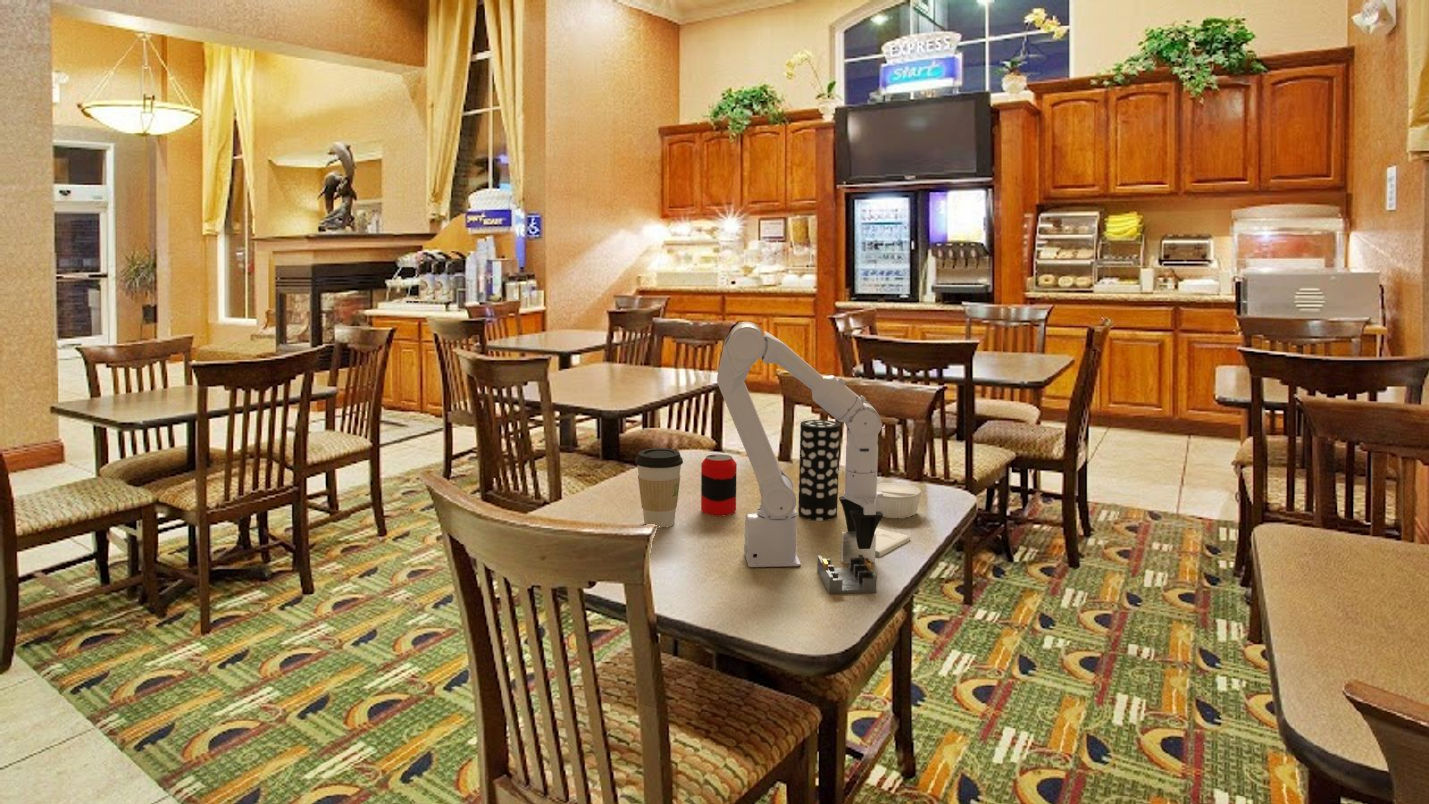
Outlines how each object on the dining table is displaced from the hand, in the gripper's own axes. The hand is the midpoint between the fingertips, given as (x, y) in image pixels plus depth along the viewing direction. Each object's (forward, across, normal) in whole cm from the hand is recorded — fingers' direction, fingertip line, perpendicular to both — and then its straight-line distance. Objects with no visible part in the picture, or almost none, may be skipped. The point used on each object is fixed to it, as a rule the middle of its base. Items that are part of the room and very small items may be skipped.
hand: (859, 541), depth 167 cm
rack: (+4, -10, +5) cm, 12 cm away
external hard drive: (+5, +10, -6) cm, 12 cm away
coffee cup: (+4, +24, +36) cm, 44 cm away
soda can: (+4, +32, +23) cm, 40 cm away
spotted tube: (+4, +28, +2) cm, 29 cm away
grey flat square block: (+4, 0, 0) cm, 4 cm away
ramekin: (+4, +30, -15) cm, 33 cm away
